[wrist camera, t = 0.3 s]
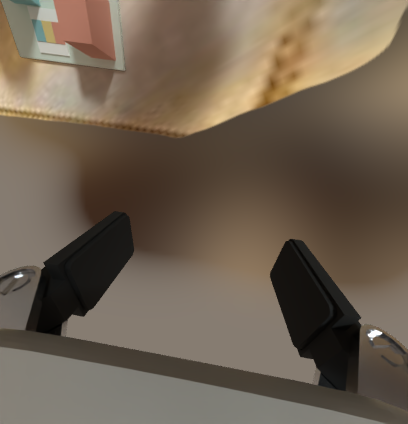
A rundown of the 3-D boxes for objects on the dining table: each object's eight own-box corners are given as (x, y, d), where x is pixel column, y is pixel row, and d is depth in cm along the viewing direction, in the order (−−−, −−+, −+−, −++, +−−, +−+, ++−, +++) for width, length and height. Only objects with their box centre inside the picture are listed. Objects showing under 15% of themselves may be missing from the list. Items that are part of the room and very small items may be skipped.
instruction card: (28, 6, 27) (26, 5, 26) (59, 10, 26) (58, 9, 26) (41, 52, 29) (39, 52, 29) (70, 56, 29) (68, 55, 29)
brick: (81, -2, 25) (44, -38, 20) (109, 1, 25) (79, -34, 20) (91, 57, 29) (62, 40, 24) (116, 60, 29) (92, 44, 24)
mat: (-25, -84, 23) (-29, -87, 22) (111, -70, 22) (110, -74, 22) (22, 57, 30) (20, 56, 30) (125, 71, 30) (124, 70, 29)
